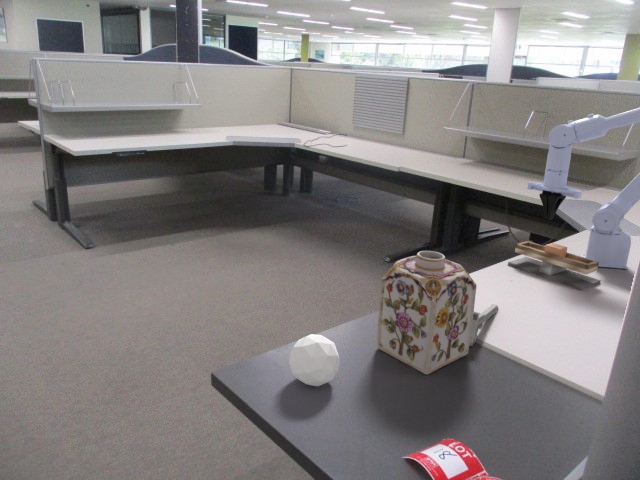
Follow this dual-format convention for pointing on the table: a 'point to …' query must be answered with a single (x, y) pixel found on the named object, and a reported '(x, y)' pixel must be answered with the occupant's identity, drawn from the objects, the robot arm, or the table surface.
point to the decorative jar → (426, 311)
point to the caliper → (480, 321)
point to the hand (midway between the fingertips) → (548, 219)
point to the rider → (556, 249)
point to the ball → (314, 360)
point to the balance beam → (556, 266)
